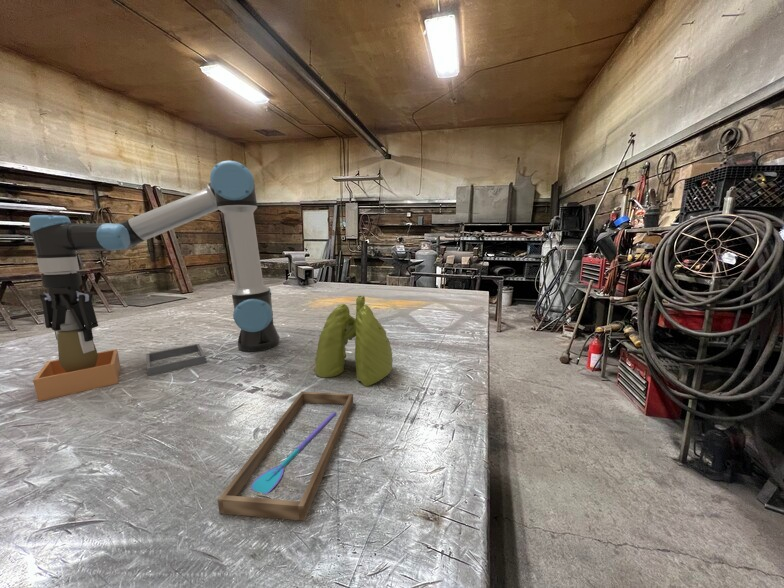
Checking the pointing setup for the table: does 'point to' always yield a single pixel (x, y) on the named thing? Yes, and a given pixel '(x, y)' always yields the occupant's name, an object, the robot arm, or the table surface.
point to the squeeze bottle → (73, 347)
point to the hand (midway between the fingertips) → (77, 351)
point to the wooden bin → (76, 377)
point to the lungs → (369, 344)
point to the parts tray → (177, 364)
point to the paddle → (282, 465)
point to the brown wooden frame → (262, 506)
